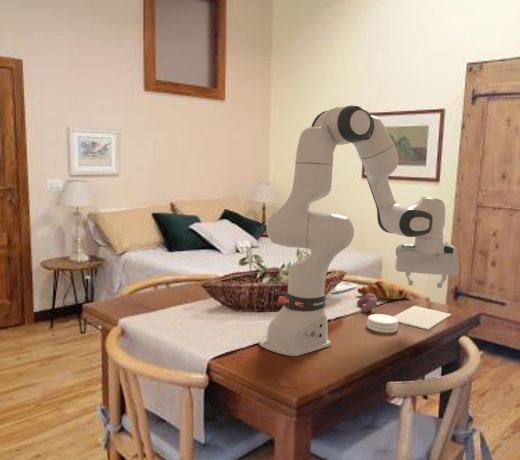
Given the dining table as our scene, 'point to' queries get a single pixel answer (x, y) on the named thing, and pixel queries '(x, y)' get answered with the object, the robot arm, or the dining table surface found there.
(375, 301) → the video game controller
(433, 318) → the cream rectangular panel
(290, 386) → the dining table surface
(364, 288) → the croissant
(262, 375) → the dining table surface
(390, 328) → the coaster
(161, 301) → the dining table surface
